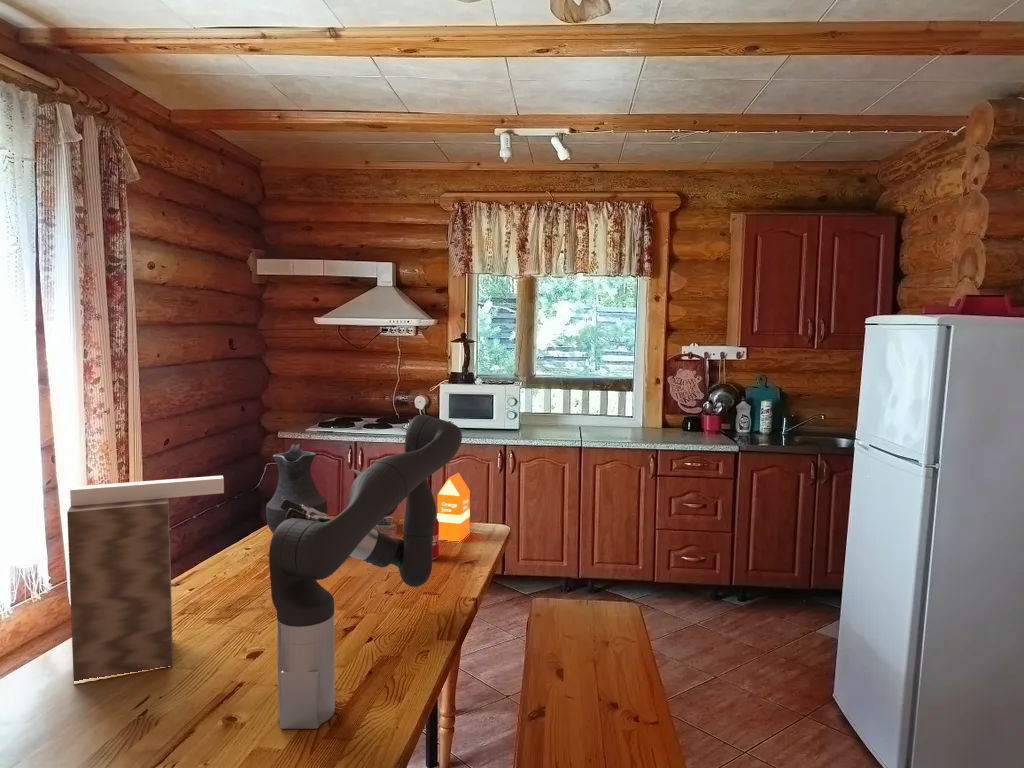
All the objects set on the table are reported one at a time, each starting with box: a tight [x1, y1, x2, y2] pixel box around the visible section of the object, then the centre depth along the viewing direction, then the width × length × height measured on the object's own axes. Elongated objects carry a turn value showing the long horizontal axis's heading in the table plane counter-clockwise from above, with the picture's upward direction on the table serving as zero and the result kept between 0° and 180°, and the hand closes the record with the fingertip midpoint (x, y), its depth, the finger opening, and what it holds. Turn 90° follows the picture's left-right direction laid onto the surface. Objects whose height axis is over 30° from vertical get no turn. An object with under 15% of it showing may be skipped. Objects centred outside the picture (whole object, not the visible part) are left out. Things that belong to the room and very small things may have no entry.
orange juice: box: [436, 472, 471, 543], centre depth 215 cm, size 8×9×20 cm
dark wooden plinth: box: [66, 498, 174, 682], centre depth 132 cm, size 16×12×32 cm
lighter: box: [373, 516, 397, 538], centre depth 203 cm, size 8×3×10 cm, turn 73°
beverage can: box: [432, 515, 440, 561], centre depth 195 cm, size 6×6×12 cm
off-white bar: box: [69, 475, 225, 507], centre depth 133 cm, size 26×3×3 cm, turn 116°
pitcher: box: [265, 443, 328, 535], centre depth 204 cm, size 17×21×30 cm
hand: (284, 507), depth 144 cm, fingers open, 8 cm apart
